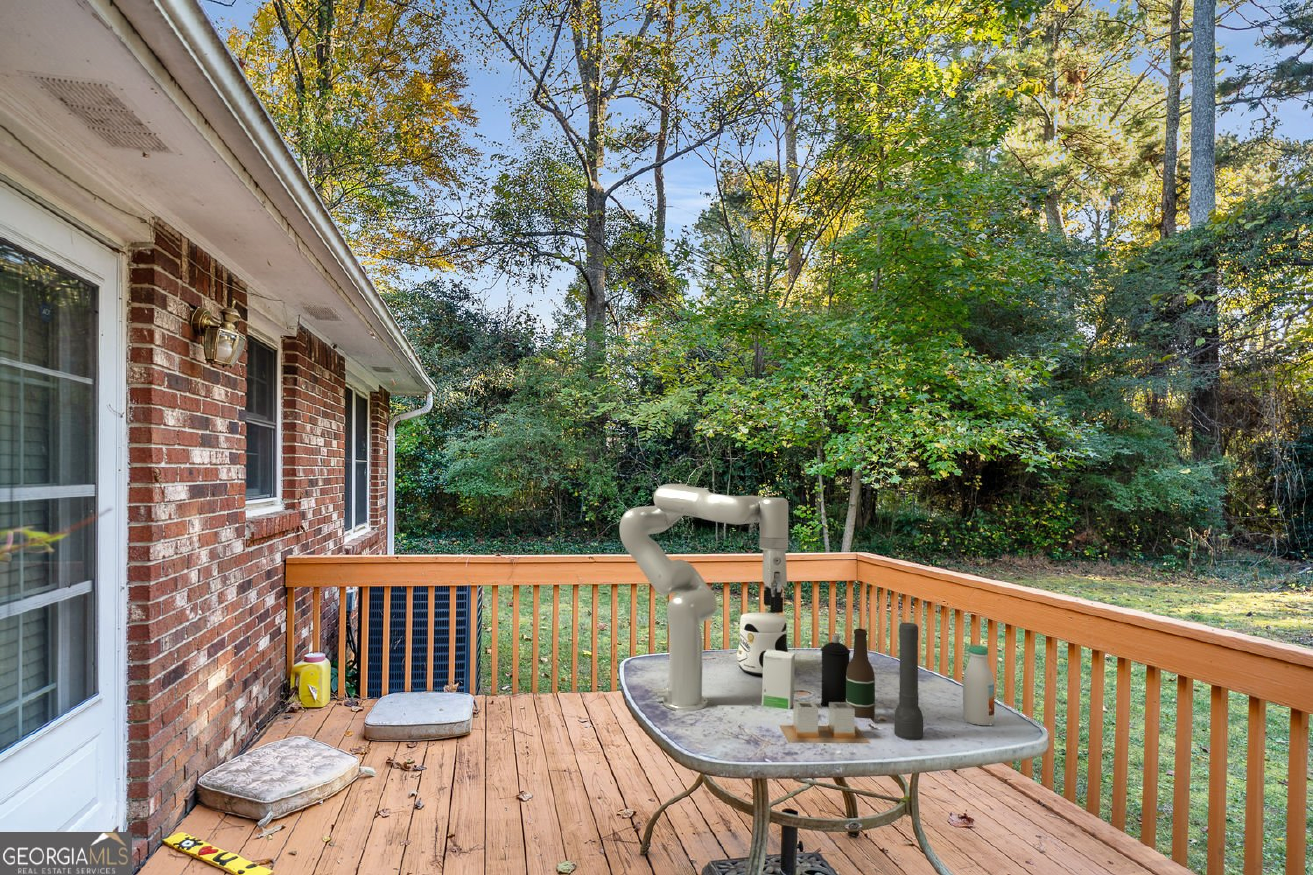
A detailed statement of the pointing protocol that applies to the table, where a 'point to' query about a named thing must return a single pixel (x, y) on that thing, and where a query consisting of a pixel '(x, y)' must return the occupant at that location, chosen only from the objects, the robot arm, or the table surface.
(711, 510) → the robot arm
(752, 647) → the milk container
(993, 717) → the milk bottle
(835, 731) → the sleeve
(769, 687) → the skincare box
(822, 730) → the pin board
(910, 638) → the flashlight
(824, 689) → the aerosol can
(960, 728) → the table surface
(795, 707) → the sleeve seated
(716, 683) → the table surface
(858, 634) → the beer bottle
